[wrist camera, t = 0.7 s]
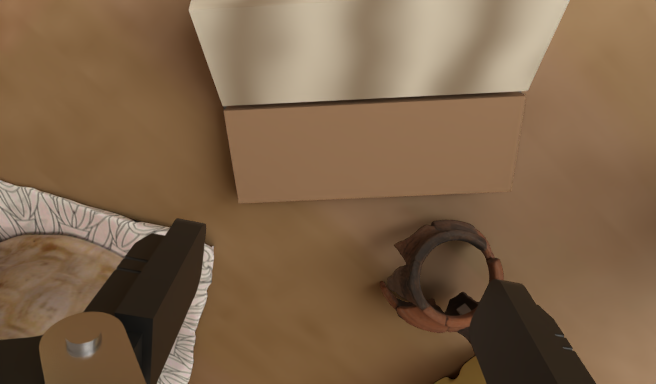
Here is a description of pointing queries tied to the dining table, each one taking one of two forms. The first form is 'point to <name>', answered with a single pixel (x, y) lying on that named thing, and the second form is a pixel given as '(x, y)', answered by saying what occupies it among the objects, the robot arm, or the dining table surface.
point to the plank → (371, 47)
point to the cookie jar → (73, 266)
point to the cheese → (467, 374)
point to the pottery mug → (408, 279)
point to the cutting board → (375, 147)
